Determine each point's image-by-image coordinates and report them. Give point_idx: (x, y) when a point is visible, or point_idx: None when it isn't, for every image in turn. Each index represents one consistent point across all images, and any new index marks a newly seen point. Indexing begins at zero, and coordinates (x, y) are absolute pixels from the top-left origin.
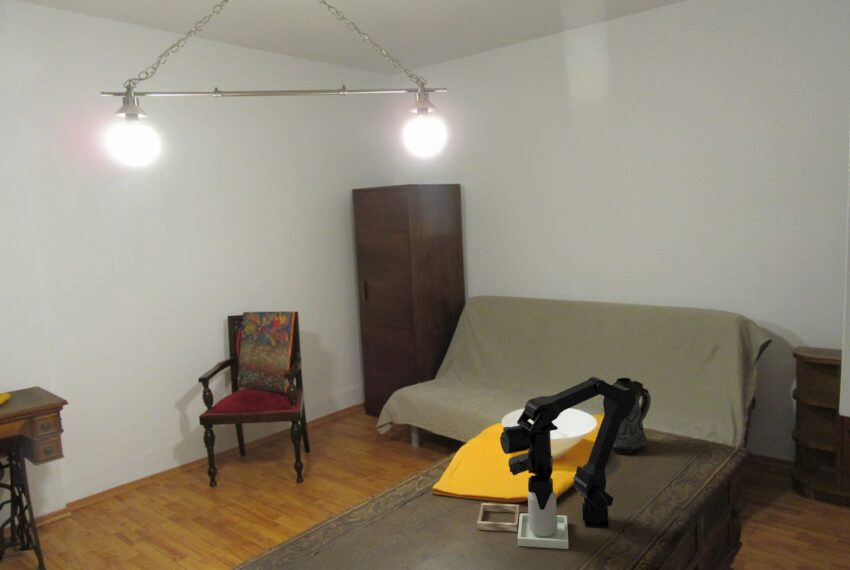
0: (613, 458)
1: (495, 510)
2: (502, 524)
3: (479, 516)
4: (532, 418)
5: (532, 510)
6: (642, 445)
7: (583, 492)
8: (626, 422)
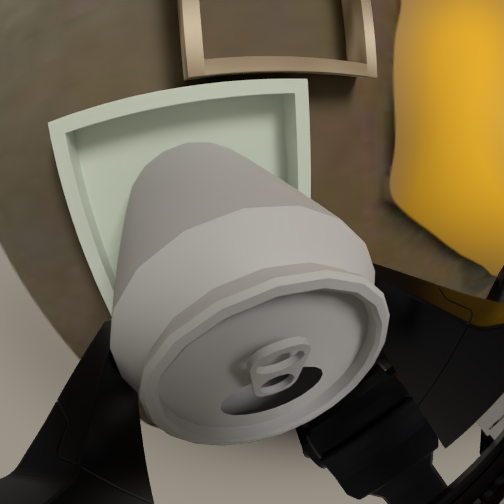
0: (491, 278)
1: None
2: (181, 4)
3: None
4: None
5: (127, 232)
6: None
7: (328, 424)
8: None
